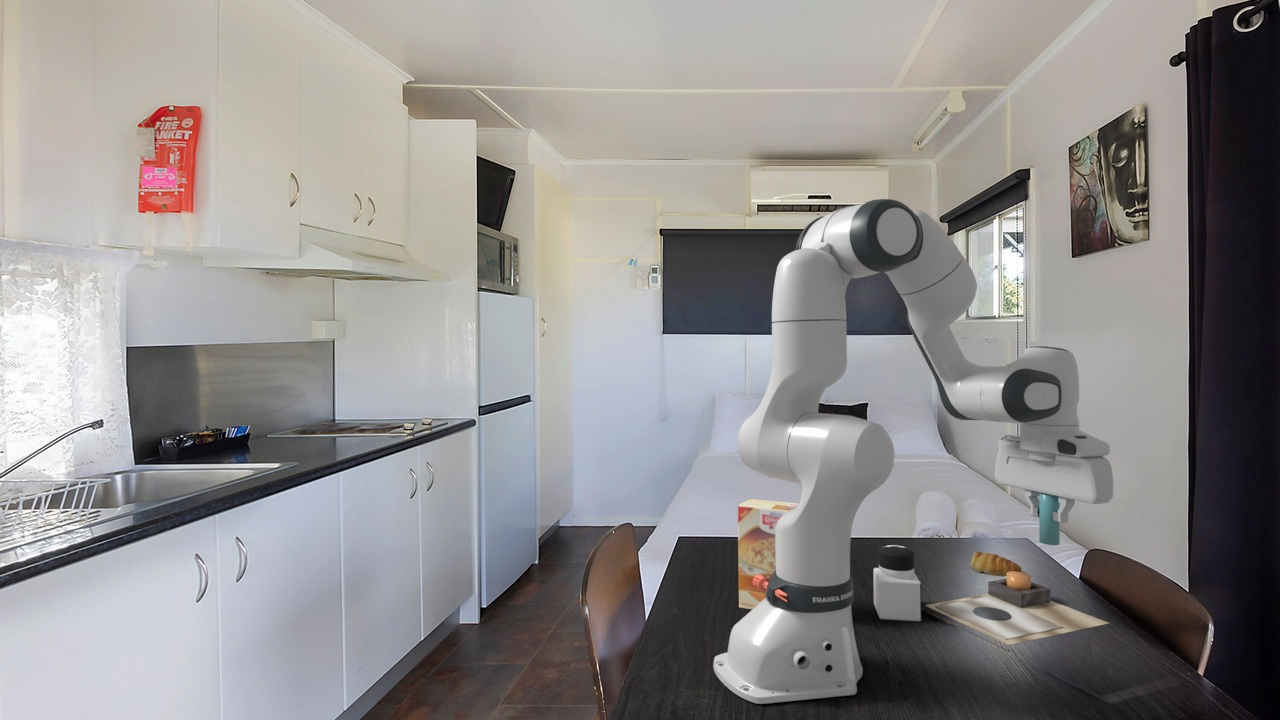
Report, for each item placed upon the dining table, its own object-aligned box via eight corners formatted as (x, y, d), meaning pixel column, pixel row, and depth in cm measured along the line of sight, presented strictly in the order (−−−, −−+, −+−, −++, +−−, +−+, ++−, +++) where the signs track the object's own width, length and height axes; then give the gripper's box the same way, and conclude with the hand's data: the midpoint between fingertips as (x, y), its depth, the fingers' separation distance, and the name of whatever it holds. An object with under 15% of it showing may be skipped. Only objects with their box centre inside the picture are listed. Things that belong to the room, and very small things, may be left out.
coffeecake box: (738, 608, 126) (736, 505, 126) (750, 595, 133) (748, 497, 132) (817, 621, 119) (816, 513, 119) (826, 607, 126) (825, 504, 125)
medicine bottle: (921, 622, 118) (920, 554, 118) (879, 619, 120) (878, 553, 120) (913, 607, 125) (912, 543, 125) (873, 604, 127) (872, 541, 127)
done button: (1020, 595, 123) (1019, 579, 123) (1001, 588, 127) (1001, 572, 127) (1036, 592, 125) (1036, 576, 125) (1017, 585, 128) (1017, 570, 128)
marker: (1050, 546, 114) (1050, 481, 114) (1034, 541, 117) (1034, 478, 117) (1064, 544, 115) (1064, 480, 115) (1047, 539, 118) (1047, 477, 118)
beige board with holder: (1008, 651, 106) (1007, 629, 106) (924, 610, 123) (924, 591, 123) (1109, 628, 114) (1109, 608, 114) (1018, 593, 131) (1018, 575, 131)
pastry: (1024, 572, 144) (1024, 555, 143) (1017, 581, 138) (1017, 563, 138) (977, 564, 150) (976, 547, 150) (968, 572, 145) (968, 554, 145)
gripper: (986, 434, 125) (986, 508, 125) (1091, 448, 106) (1091, 535, 106) (1011, 432, 127) (1011, 505, 127) (1120, 446, 108) (1120, 532, 108)
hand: (1049, 519), depth 116 cm, fingers closed on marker, 3 cm apart
